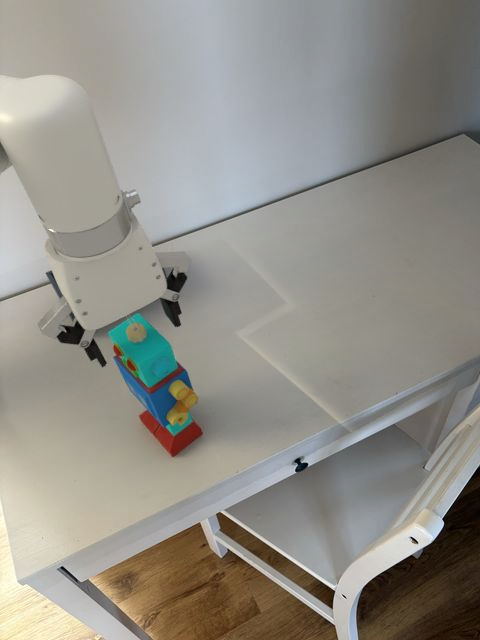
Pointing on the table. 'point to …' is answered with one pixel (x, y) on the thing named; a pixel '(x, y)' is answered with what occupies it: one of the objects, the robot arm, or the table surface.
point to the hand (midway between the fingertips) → (137, 338)
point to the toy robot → (156, 382)
